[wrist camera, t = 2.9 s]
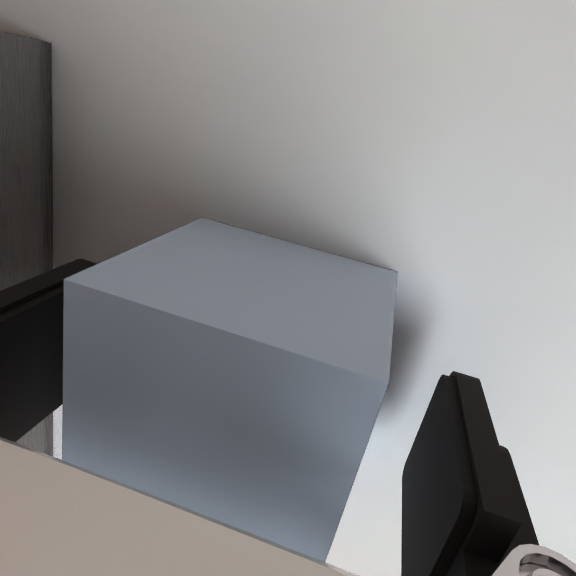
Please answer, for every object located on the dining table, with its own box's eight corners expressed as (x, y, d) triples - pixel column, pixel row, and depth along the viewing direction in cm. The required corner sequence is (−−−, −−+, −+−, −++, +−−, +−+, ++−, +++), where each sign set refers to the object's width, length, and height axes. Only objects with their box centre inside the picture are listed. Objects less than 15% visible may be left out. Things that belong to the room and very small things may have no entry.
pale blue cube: (397, 271, 10) (389, 383, 6) (336, 455, 13) (297, 639, 8) (203, 216, 11) (64, 278, 7) (178, 400, 13) (61, 539, 9)
